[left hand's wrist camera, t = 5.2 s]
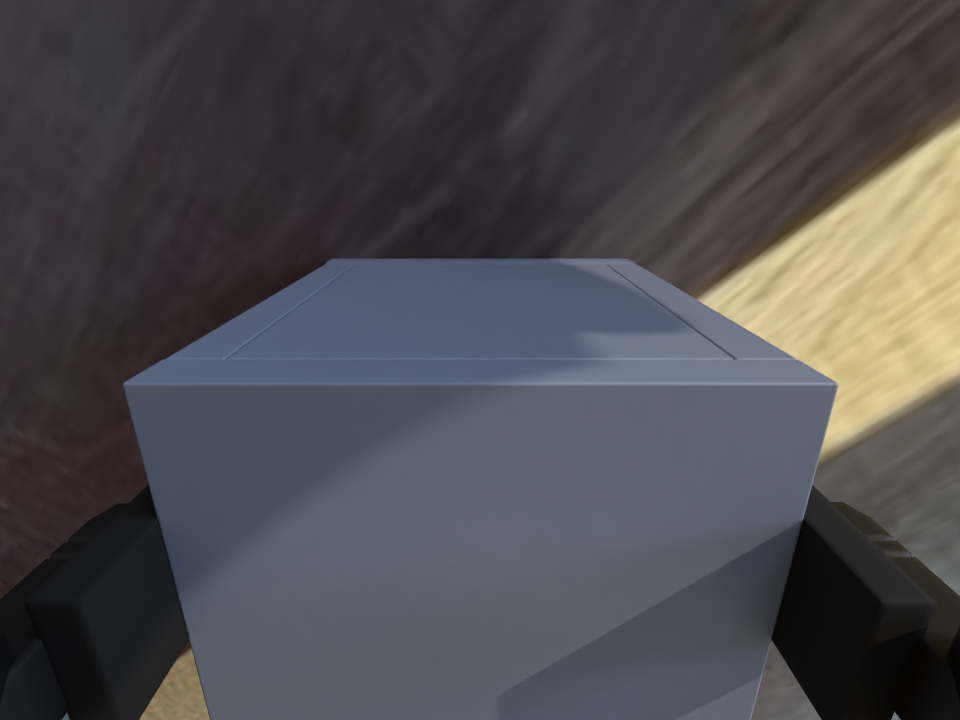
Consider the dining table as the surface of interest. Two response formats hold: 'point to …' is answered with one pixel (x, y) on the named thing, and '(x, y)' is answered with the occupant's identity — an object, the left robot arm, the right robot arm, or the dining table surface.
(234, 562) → the cabinet
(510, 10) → the dining table surface
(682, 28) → the dining table surface
